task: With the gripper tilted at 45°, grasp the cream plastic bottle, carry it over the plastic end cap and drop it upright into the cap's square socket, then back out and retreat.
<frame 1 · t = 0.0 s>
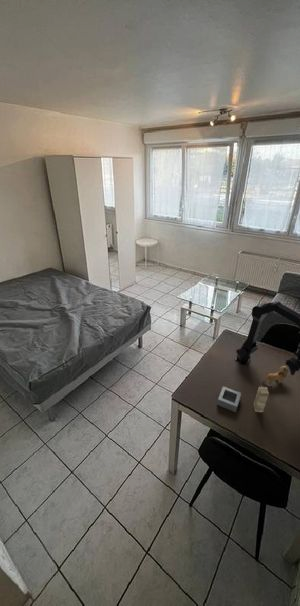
hand: (297, 370, 124), 15 cm above the table, tool pointing down, fingers open, 9 cm apart
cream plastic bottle: (257, 408, 123), on the table
lion figurine: (273, 381, 137), on the table
end cap: (228, 401, 126), on the table
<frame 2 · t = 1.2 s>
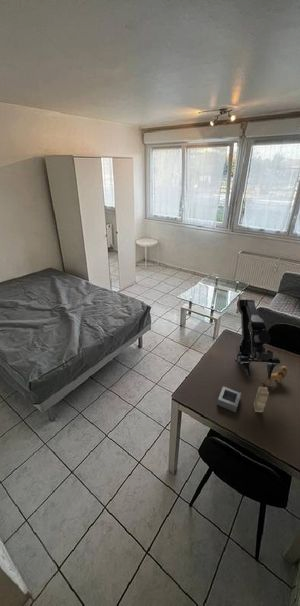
hand: (259, 378, 123), 12 cm above the table, tool tilted 45°, fingers open, 9 cm apart
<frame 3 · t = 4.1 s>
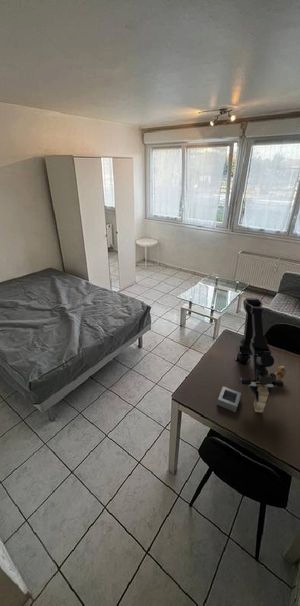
hand: (261, 402, 118), 7 cm above the table, tool tilted 45°, fingers closed on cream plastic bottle, 3 cm apart
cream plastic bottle: (257, 408, 122), on the table, touching gripper
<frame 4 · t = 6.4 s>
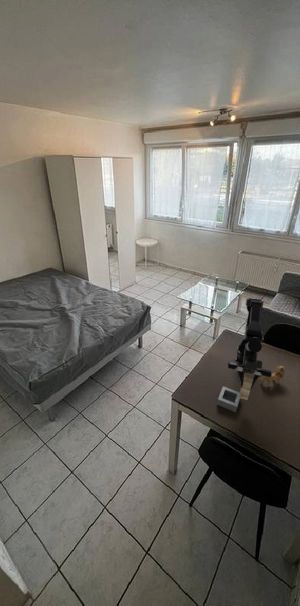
hand: (246, 388, 116), 13 cm above the table, tool tilted 45°, fingers closed on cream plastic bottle, 3 cm apart
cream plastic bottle: (243, 396, 121), point 7 cm above the table, touching gripper
when the fingers open (7 cm above the table, at t = 8.8 s): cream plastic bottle stays where it is, resting on end cap.
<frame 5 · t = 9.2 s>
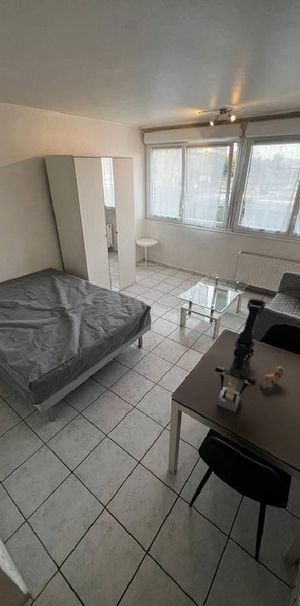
hand: (230, 393, 121), 8 cm above the table, tool tilted 45°, fingers open, 8 cm apart
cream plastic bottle: (228, 400, 126), resting on end cap
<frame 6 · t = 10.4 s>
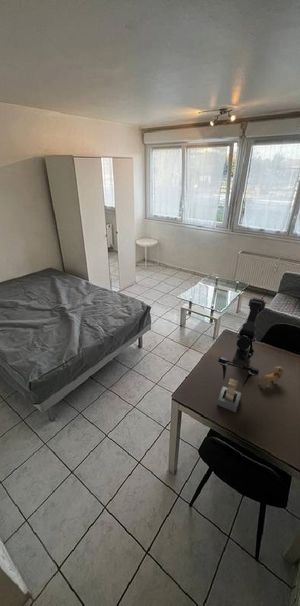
hand: (233, 383, 124), 10 cm above the table, tool tilted 45°, fingers open, 9 cm apart
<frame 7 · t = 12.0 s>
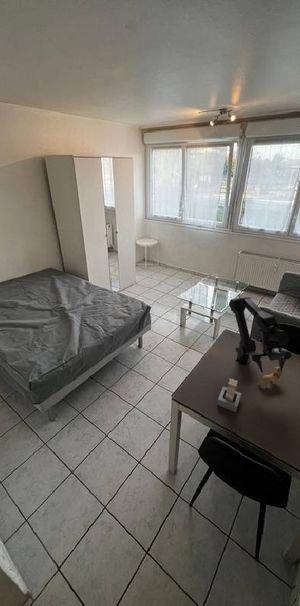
hand: (271, 371, 128), 12 cm above the table, tool tilted 25°, fingers open, 9 cm apart
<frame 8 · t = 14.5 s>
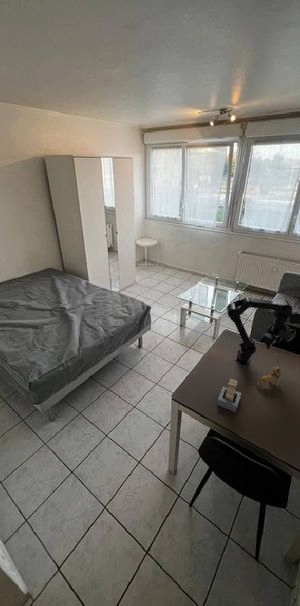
hand: (272, 345, 143), 13 cm above the table, tool pointing down, fingers open, 9 cm apart
at the end: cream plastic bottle 0.0 cm off-centre on the end cap, point 0.5 cm above the end cap's base; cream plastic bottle tilted 0°; the gripper is holding nothing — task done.
